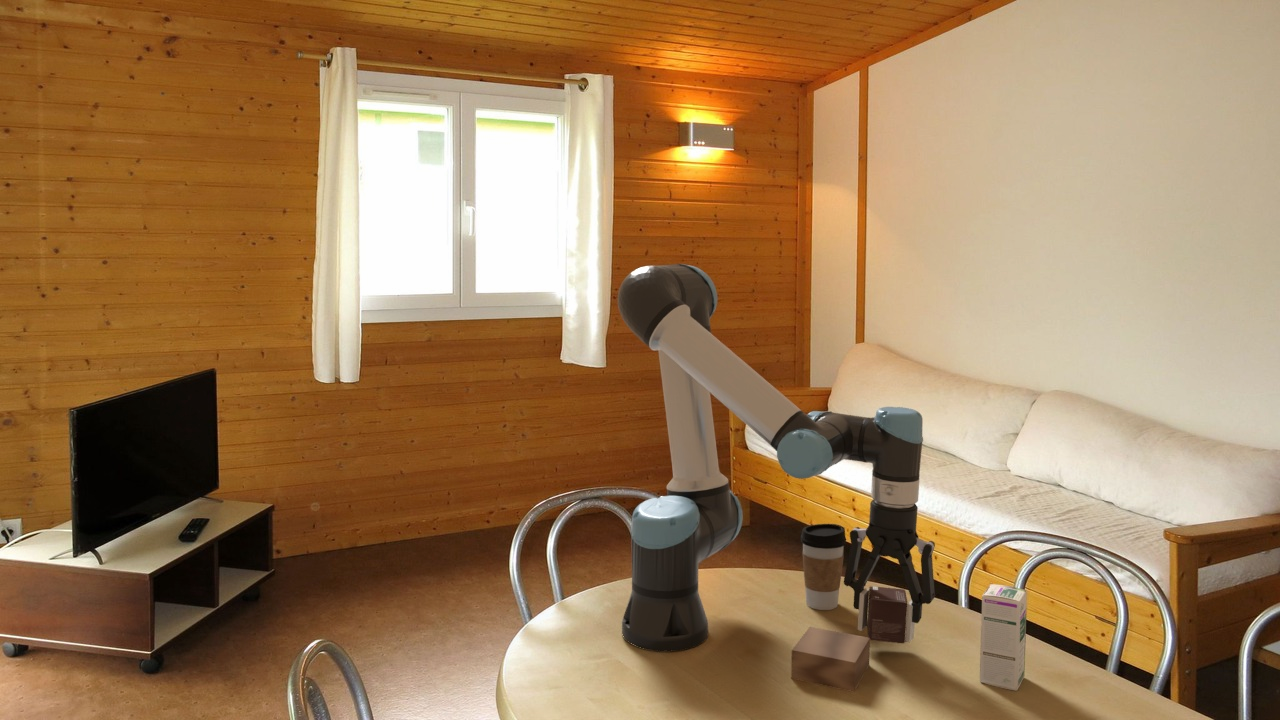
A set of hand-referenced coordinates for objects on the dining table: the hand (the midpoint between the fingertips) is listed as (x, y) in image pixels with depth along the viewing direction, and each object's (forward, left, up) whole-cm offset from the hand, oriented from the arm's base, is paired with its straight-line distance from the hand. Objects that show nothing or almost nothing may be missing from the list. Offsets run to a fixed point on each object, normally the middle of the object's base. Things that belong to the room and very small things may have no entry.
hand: (885, 633), depth 156 cm
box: (0, 0, -1) cm, 1 cm away
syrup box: (+19, -1, -3) cm, 19 cm away
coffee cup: (-16, +14, -3) cm, 22 cm away
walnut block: (-5, -12, -3) cm, 14 cm away
